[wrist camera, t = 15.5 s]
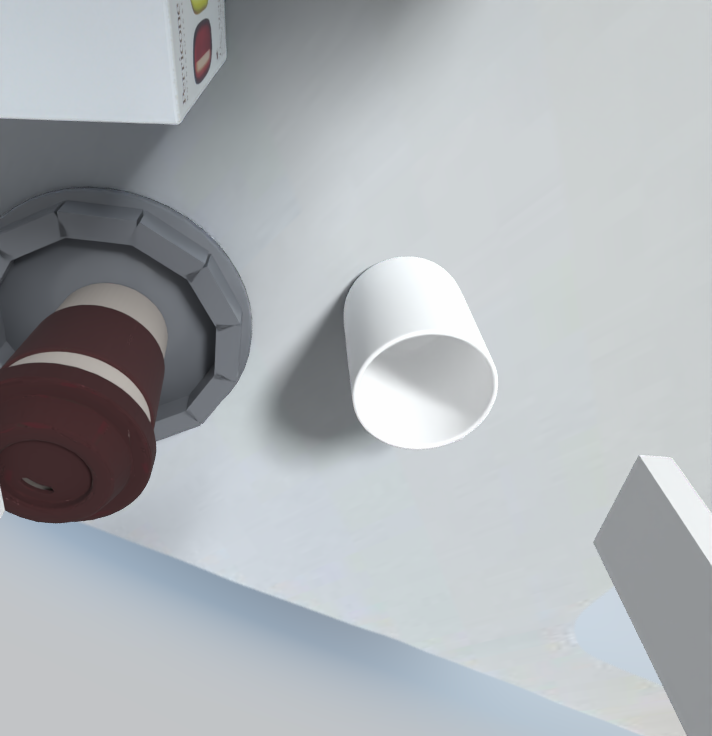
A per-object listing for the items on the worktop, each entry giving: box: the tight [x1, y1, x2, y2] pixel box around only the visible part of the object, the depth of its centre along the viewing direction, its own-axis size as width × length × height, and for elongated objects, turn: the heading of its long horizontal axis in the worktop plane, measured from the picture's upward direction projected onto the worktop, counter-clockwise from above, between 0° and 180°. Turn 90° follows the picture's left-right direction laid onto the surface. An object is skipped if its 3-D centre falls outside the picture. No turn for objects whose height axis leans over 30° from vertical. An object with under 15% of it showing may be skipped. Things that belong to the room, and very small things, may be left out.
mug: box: [344, 256, 498, 450], centre depth 43 cm, size 9×12×11 cm
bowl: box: [0, 187, 252, 441], centre depth 44 cm, size 19×19×3 cm
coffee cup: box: [0, 283, 168, 523], centre depth 38 cm, size 10×10×15 cm
